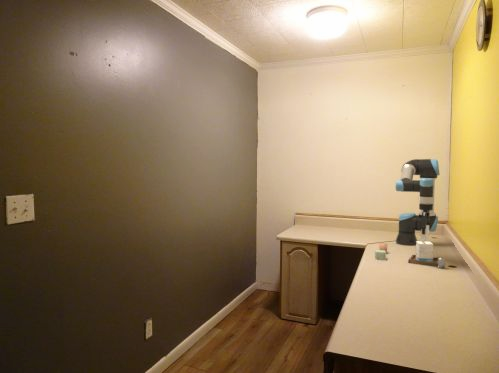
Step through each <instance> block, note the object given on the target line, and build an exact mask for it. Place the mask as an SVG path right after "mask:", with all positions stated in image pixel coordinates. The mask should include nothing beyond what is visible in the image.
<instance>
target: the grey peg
mask: <svg viewBox="0 0 499 373" xmlns="http://www.w3.org/2000/svg"><path fill="white" fill-rule="evenodd" d="M437 258H438V267H437V268H438V269H440V270H444V269H445V266H446V258H445V257H442V256H438V257H437Z"/></svg>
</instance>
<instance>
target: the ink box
mask: <svg viewBox="0 0 499 373" xmlns="http://www.w3.org/2000/svg"><path fill="white" fill-rule="evenodd" d="M415 255H416V260H417V261H425V262H432V263H433V257H434V243H432V242H431V241H426V240H423V239H421V238H420V240H417V241H416V245H415Z"/></svg>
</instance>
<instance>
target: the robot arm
mask: <svg viewBox="0 0 499 373" xmlns="http://www.w3.org/2000/svg"><path fill="white" fill-rule="evenodd" d="M400 172H401V175H400V179H397V180H396V181H395V191H396V192H402V193H403V192H404V193H405V192H407V193H408V192H409V193H419V197H418V200H419V204H418V205H419V206H418V209H419V210H420V211H419V212H418V214H416V213H415V212H403V213H400V214H399V215H398V234H397V237H396V239H395V243H396V244H398V245H402V246H403V245H404V246H416V241H418V239H417V236H416V231H418V232H420V240H421V239H422V240H423V241H426V240H427V236H430V232H431V233H432V232H435V231H436V230H437V227H438V223H439V222H438V221H439V216H438V215H437V213H436V212H435V190H436V188H435V187H436V186H435V185H436V184H435V183H436V179H437V178H438V176H440V166H439V161H438V159H435V158H425V159H424V158H423V159H421V158H420V159H417V158H416V159H411V160H408V161H406V162H405V163H403V165H402V166H401V168H400ZM414 176H419V178H420V179H418V180H417V179H413V178H414Z"/></svg>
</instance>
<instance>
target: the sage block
mask: <svg viewBox="0 0 499 373" xmlns="http://www.w3.org/2000/svg"><path fill="white" fill-rule="evenodd" d="M374 258H375V260H376V259H377V261H379V260H380V261H386V259H387V254H386V252H385V250H380V249H374Z"/></svg>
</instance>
